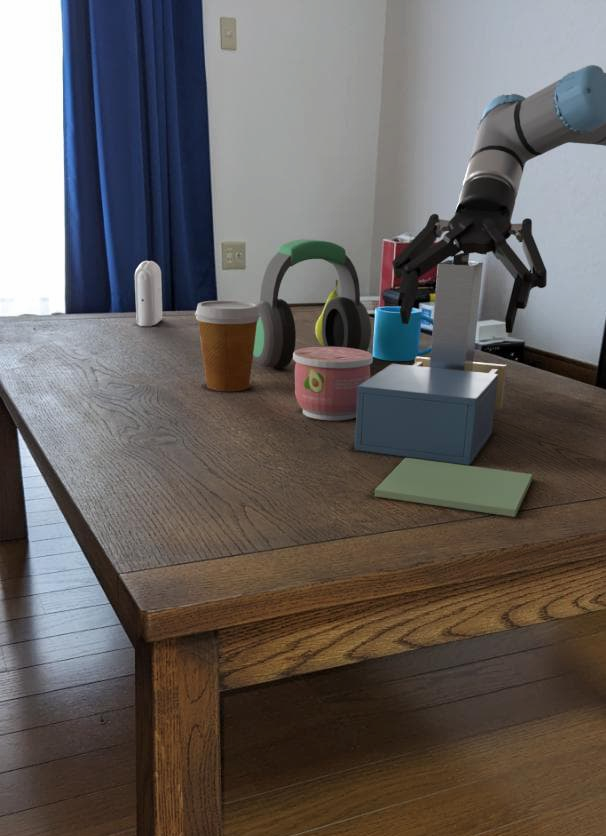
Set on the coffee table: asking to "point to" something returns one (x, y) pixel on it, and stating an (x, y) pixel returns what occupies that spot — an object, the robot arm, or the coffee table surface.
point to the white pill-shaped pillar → (148, 294)
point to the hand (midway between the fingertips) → (455, 322)
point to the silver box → (456, 313)
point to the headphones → (341, 315)
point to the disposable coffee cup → (227, 342)
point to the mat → (456, 486)
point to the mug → (397, 334)
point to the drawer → (481, 368)
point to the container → (330, 380)
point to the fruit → (319, 323)
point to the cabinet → (426, 413)
